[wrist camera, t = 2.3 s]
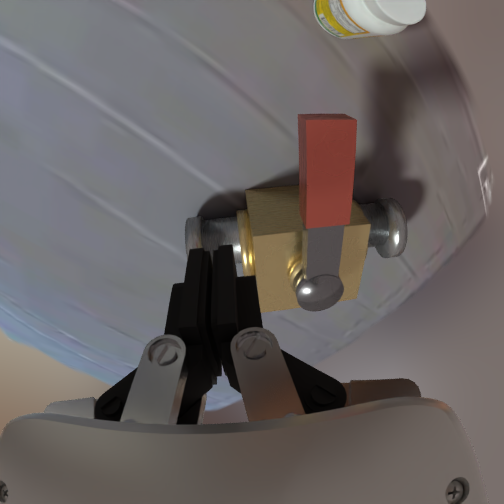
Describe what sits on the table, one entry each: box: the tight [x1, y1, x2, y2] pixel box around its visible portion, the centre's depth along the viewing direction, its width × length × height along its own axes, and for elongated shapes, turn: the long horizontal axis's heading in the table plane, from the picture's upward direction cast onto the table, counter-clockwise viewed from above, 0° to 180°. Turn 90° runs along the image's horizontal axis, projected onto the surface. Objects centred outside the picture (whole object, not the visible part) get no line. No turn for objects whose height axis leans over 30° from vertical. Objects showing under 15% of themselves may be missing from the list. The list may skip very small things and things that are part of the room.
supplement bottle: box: [313, 0, 426, 39], centre depth 13 cm, size 5×5×10 cm
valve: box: [185, 185, 407, 313], centre depth 26 cm, size 20×8×9 cm, turn 95°
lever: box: [293, 114, 357, 311], centre depth 18 cm, size 14×4×2 cm, turn 5°
